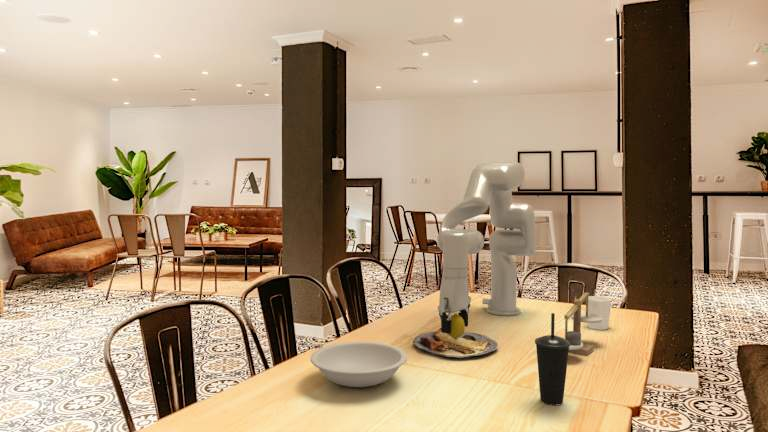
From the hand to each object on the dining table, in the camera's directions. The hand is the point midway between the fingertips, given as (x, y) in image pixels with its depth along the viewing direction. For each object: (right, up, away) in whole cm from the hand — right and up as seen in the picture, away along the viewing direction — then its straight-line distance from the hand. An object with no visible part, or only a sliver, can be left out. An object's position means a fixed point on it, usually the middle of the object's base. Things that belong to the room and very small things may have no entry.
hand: (454, 329), depth 159 cm
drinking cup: (+16, -8, -40) cm, 44 cm away
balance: (+35, -5, -4) cm, 36 cm away
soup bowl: (-28, -7, -28) cm, 40 cm away
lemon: (0, -3, 0) cm, 3 cm away
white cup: (+52, -4, +22) cm, 56 cm away
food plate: (0, -6, 0) cm, 6 cm away
